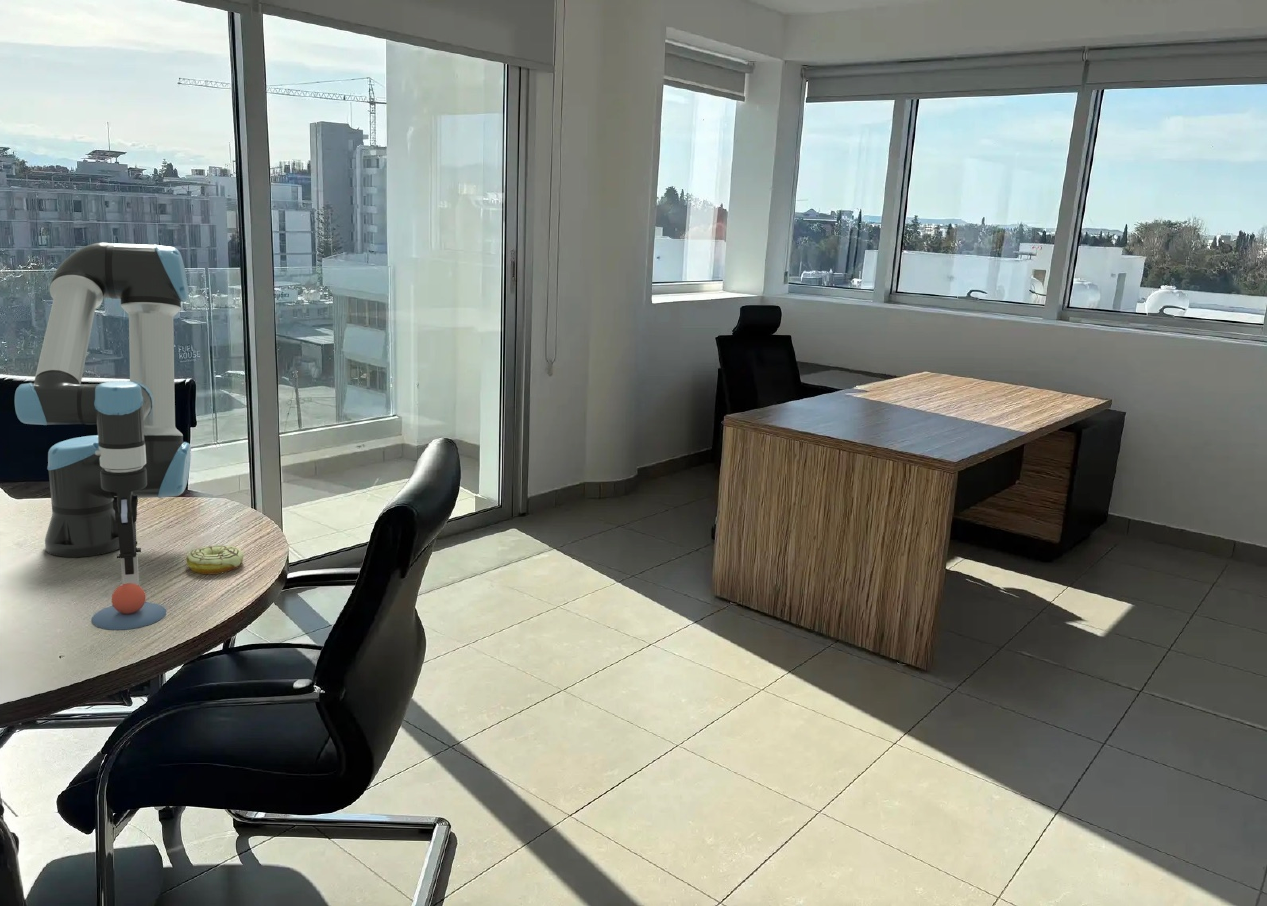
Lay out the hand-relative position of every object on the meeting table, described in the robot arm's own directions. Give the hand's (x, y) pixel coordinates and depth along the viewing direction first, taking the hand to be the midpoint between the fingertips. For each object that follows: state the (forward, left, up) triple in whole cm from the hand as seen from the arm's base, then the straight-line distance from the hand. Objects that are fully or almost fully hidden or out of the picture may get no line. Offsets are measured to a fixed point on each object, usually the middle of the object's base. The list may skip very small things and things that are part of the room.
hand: (131, 587), depth 183 cm
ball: (+7, -2, +1) cm, 7 cm away
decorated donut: (-9, +18, -2) cm, 20 cm away
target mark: (+9, -2, -2) cm, 9 cm away
